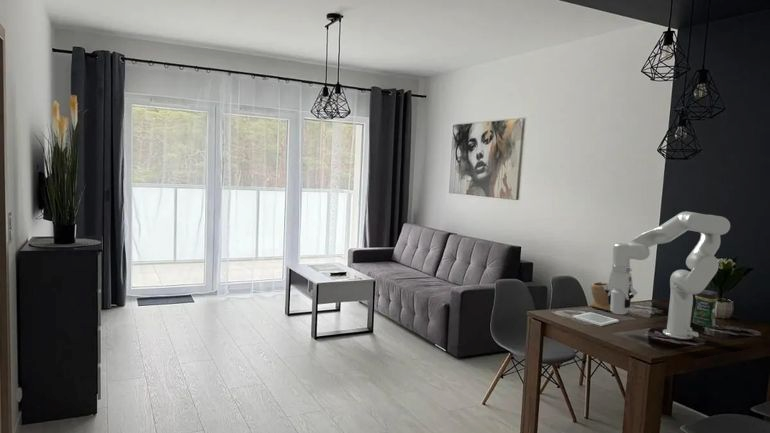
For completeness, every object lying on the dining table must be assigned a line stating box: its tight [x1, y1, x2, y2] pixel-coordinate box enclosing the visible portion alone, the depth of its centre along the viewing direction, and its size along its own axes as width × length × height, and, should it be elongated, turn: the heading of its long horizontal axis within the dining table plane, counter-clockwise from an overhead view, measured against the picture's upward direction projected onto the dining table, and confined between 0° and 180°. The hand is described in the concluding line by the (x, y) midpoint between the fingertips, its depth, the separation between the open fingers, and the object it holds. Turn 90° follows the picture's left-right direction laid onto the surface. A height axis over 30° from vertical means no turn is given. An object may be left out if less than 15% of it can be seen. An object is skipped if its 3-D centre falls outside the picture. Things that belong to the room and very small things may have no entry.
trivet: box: [572, 311, 620, 327], centre depth 275 cm, size 16×16×1 cm
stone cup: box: [589, 281, 612, 312], centre depth 298 cm, size 15×12×15 cm
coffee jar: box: [691, 289, 719, 328], centre depth 275 cm, size 10×8×19 cm
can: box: [610, 288, 629, 315], centre depth 255 cm, size 8×8×12 cm
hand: (619, 305), depth 255 cm, fingers closed on can, 7 cm apart
